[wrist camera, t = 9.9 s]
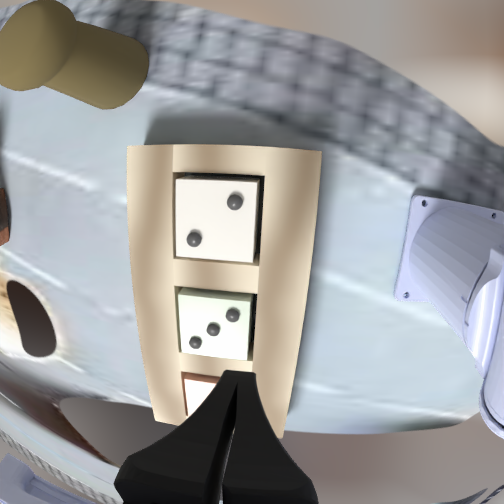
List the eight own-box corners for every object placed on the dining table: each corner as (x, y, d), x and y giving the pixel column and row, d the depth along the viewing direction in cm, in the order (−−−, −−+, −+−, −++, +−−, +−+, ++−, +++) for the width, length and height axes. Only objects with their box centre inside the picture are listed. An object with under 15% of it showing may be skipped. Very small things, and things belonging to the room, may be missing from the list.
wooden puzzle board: (316, 151, 19) (321, 151, 17) (282, 419, 27) (282, 438, 24) (143, 146, 20) (127, 146, 18) (163, 403, 28) (155, 420, 25)
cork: (135, 114, 19) (28, 98, 9) (73, 105, 19) (-33, 97, 9) (159, 39, 18) (75, -25, 7) (95, 36, 17) (1, -4, 7)
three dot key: (254, 283, 23) (249, 303, 20) (250, 337, 24) (246, 362, 21) (190, 277, 23) (177, 295, 20) (192, 331, 24) (181, 353, 21)
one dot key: (249, 363, 25) (245, 388, 22) (246, 401, 26) (242, 426, 23) (193, 357, 25) (183, 380, 22) (196, 395, 27) (188, 419, 24)
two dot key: (260, 178, 20) (256, 183, 17) (256, 247, 22) (252, 263, 19) (190, 175, 20) (174, 179, 17) (189, 242, 22) (175, 257, 19)
